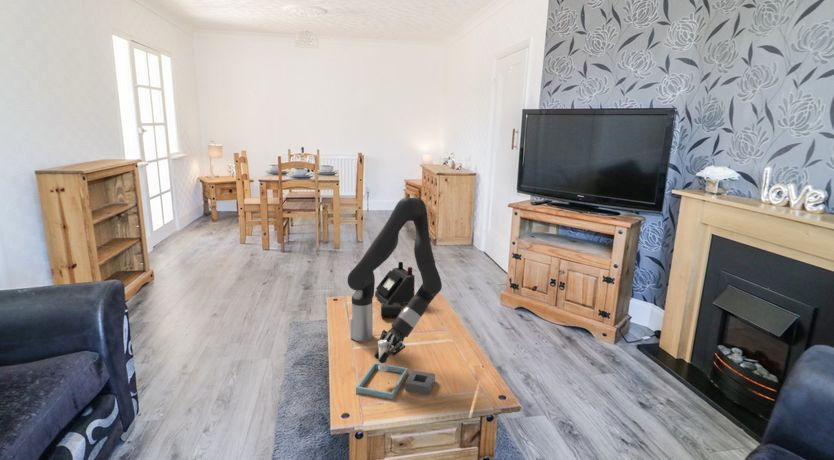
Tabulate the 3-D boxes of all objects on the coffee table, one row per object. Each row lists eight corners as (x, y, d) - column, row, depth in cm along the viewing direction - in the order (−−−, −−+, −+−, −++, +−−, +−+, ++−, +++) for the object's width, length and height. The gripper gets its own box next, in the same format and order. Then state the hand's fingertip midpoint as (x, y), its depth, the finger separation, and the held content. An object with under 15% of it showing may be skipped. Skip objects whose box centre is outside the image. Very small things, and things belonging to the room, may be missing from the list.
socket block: (405, 392, 162) (405, 382, 161) (412, 379, 171) (412, 370, 170) (428, 397, 160) (429, 387, 159) (434, 383, 168) (435, 374, 167)
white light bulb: (376, 370, 164) (376, 343, 162) (380, 365, 168) (379, 339, 165) (386, 372, 163) (385, 344, 161) (389, 367, 167) (389, 340, 164)
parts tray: (355, 394, 161) (355, 387, 160) (374, 369, 177) (374, 362, 177) (392, 401, 157) (392, 394, 156) (407, 375, 174) (407, 368, 173)
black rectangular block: (381, 320, 222) (381, 307, 220) (380, 314, 229) (380, 302, 227) (401, 319, 223) (401, 307, 222) (399, 313, 230) (400, 301, 229)
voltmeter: (374, 298, 249) (374, 264, 244) (400, 294, 257) (400, 260, 252) (387, 309, 235) (387, 273, 231) (414, 303, 243) (414, 268, 239)
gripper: (390, 310, 171) (362, 347, 167) (410, 323, 160) (381, 363, 156) (402, 319, 175) (375, 356, 171) (422, 333, 164) (394, 373, 160)
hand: (378, 359), depth 163 cm, fingers closed on white light bulb, 3 cm apart
